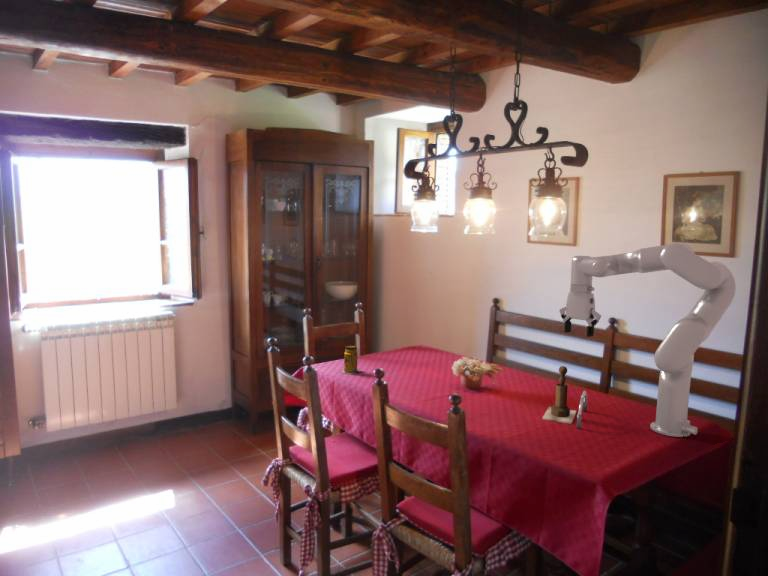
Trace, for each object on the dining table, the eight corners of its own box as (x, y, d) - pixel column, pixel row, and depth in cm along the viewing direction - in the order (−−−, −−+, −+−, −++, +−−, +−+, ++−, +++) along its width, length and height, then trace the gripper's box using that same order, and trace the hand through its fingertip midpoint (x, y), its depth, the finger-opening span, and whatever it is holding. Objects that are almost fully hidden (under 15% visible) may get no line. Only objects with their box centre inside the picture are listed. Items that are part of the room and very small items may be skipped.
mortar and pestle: (547, 413, 211) (550, 366, 209) (556, 410, 216) (559, 363, 214) (564, 418, 207) (567, 369, 205) (572, 414, 211) (576, 366, 209)
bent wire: (586, 410, 218) (588, 386, 217) (580, 429, 198) (582, 402, 197) (583, 410, 218) (584, 385, 217) (576, 428, 199) (577, 401, 198)
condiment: (340, 371, 266) (340, 346, 265) (354, 368, 272) (354, 343, 270) (350, 375, 261) (350, 349, 259) (364, 372, 267) (364, 346, 265)
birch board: (576, 412, 216) (576, 410, 216) (571, 423, 203) (571, 422, 203) (548, 408, 220) (548, 406, 220) (542, 419, 207) (542, 417, 207)
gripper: (607, 290, 210) (605, 337, 212) (567, 286, 224) (565, 329, 226) (595, 292, 206) (593, 339, 207) (555, 287, 219) (553, 331, 221)
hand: (578, 334), depth 217 cm, fingers open, 9 cm apart
